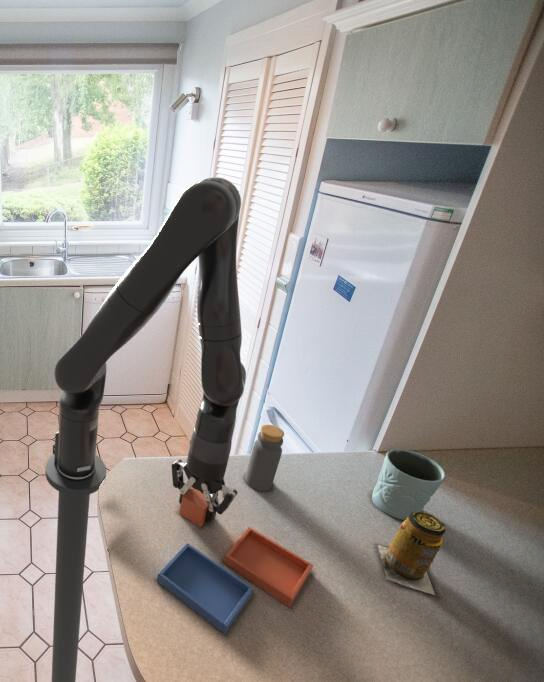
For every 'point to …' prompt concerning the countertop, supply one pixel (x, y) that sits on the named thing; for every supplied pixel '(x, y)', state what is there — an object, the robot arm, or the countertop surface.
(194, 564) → the blue tray
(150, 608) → the countertop surface
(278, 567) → the terracotta tray
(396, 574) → the condiment
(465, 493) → the countertop surface
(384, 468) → the light teal planter pot
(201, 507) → the block
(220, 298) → the robot arm
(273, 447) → the bottle
